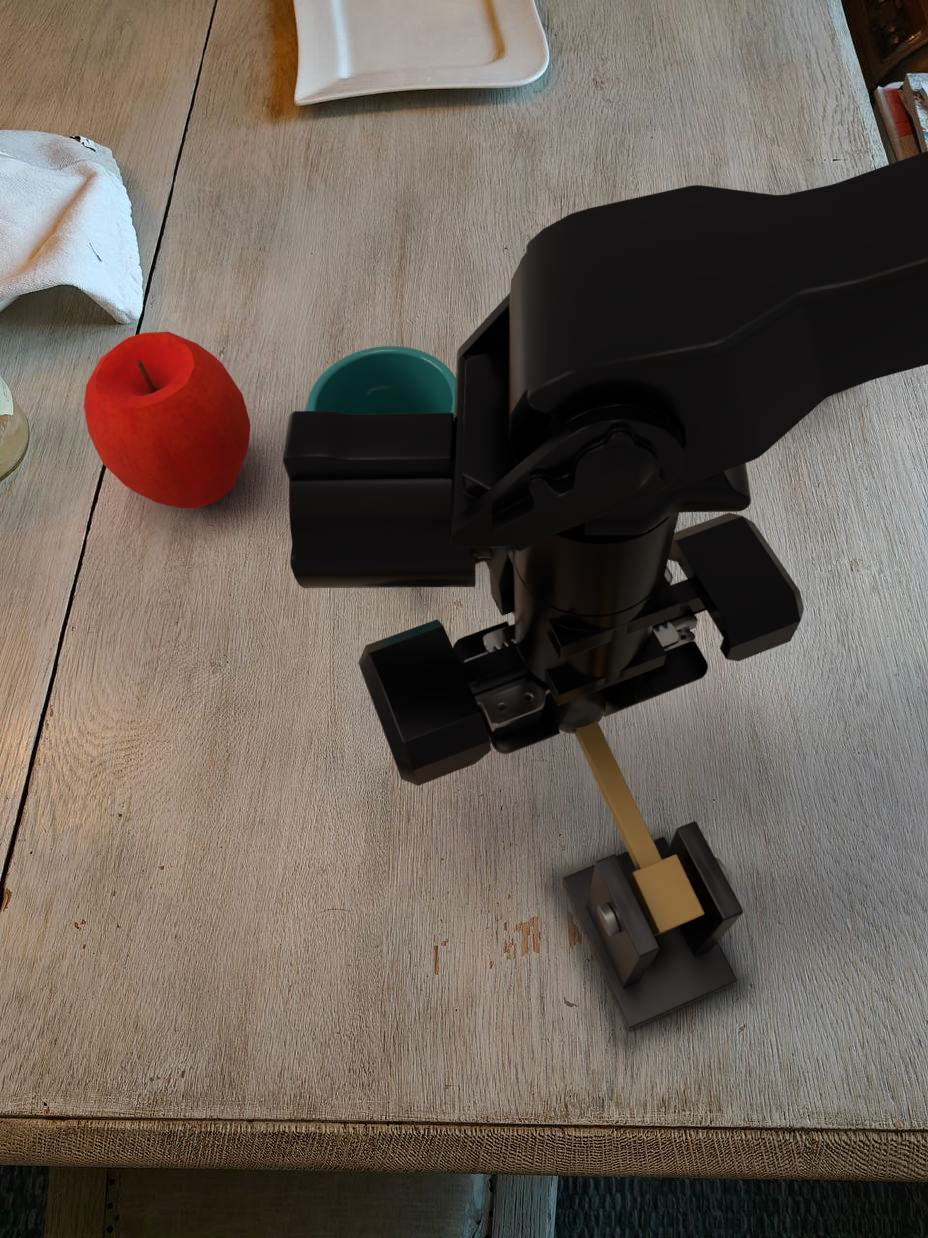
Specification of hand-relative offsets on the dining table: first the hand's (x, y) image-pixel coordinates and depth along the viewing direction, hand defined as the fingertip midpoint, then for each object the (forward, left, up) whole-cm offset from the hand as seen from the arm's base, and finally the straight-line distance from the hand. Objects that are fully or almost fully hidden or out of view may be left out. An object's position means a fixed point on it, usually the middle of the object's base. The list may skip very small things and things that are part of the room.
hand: (572, 719), depth 49 cm
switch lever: (0, +5, 0) cm, 5 cm away
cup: (+3, -19, -7) cm, 21 cm away
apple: (+15, -29, -7) cm, 34 cm away
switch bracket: (0, +10, -7) cm, 12 cm away
